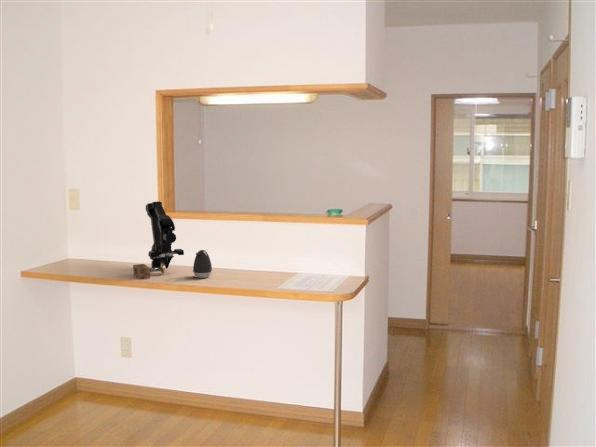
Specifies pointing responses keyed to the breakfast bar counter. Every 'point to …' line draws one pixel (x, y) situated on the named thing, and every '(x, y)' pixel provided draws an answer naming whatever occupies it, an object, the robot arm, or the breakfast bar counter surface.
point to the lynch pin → (158, 268)
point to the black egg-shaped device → (202, 265)
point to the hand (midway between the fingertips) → (166, 268)
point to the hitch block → (141, 271)
